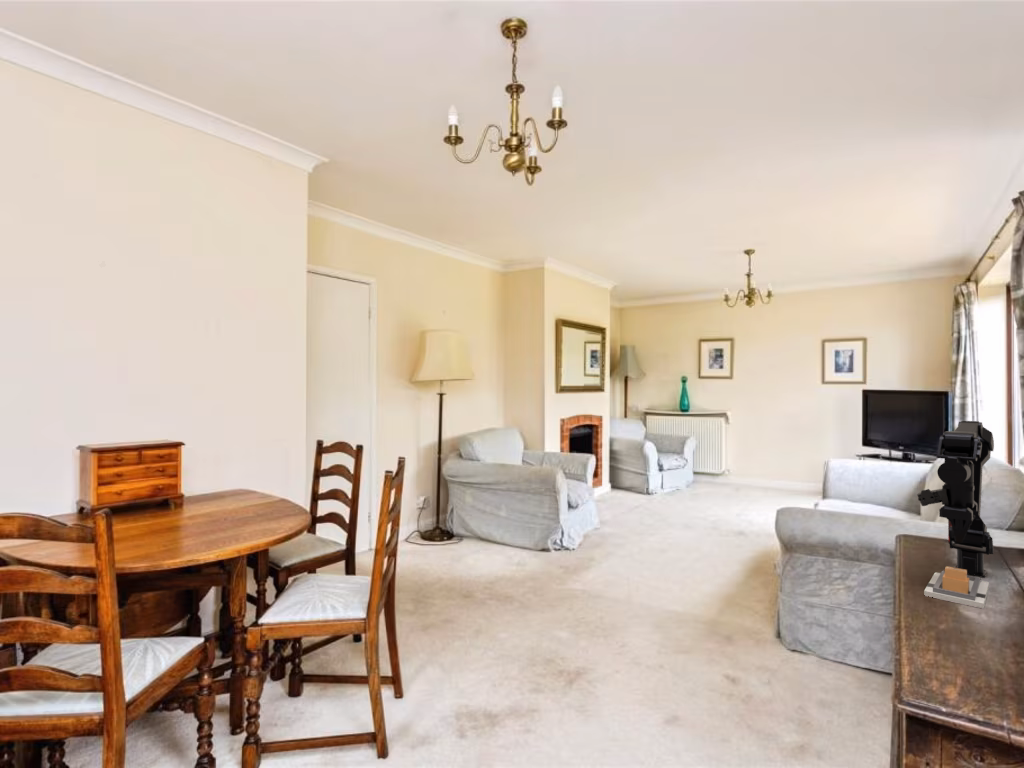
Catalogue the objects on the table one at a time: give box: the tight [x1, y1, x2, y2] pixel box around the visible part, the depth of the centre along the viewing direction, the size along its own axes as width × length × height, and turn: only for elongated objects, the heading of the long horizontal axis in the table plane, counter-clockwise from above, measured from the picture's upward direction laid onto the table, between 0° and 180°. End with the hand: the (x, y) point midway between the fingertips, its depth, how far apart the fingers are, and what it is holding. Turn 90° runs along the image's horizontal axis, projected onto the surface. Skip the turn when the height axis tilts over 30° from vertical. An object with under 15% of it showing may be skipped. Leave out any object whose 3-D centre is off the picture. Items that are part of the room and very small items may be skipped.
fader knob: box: [943, 565, 969, 594], centre depth 133 cm, size 4×5×5 cm
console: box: [923, 570, 990, 609], centre depth 136 cm, size 20×11×2 cm, turn 136°
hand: (958, 542), depth 138 cm, fingers closed
